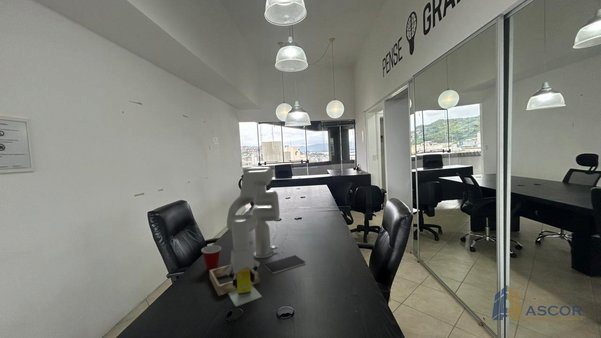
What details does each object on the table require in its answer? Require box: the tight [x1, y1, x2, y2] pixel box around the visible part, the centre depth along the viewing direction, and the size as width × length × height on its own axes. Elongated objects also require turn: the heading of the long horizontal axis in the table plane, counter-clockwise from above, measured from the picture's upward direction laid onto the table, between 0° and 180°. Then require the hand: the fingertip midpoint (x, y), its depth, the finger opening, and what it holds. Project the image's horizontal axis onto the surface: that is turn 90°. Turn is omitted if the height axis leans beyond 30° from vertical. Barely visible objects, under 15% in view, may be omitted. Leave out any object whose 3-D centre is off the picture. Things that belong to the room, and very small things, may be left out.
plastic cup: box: [201, 244, 222, 271], centre depth 142 cm, size 11×11×12 cm
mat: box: [227, 284, 262, 307], centre depth 112 cm, size 12×12×1 cm
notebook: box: [263, 254, 306, 274], centre depth 142 cm, size 13×2×21 cm
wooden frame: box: [208, 264, 260, 297], centre depth 127 cm, size 20×20×4 cm
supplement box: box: [236, 268, 251, 295], centre depth 112 cm, size 6×6×11 cm
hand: (244, 283), depth 112 cm, fingers closed on supplement box, 7 cm apart
